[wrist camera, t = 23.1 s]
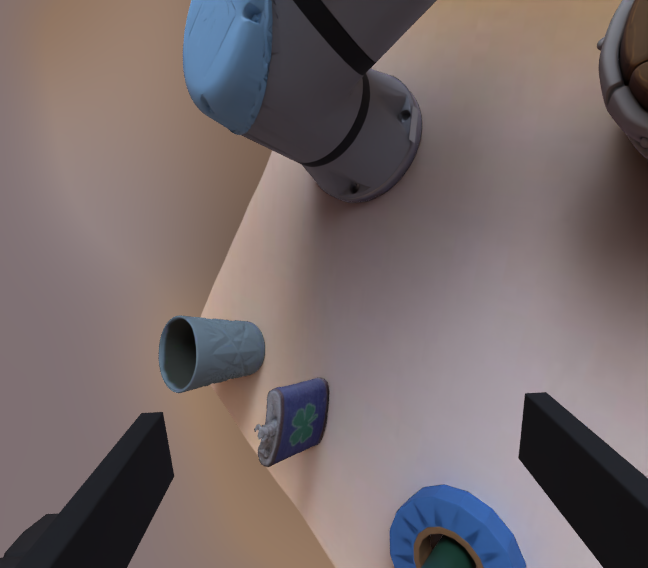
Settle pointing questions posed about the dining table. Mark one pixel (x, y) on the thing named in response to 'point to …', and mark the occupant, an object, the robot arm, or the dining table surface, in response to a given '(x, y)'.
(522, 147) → the dining table surface
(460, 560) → the green cylinder
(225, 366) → the grey faceted cup
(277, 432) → the flask
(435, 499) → the tape roll
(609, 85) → the flowerpot
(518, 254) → the dining table surface
